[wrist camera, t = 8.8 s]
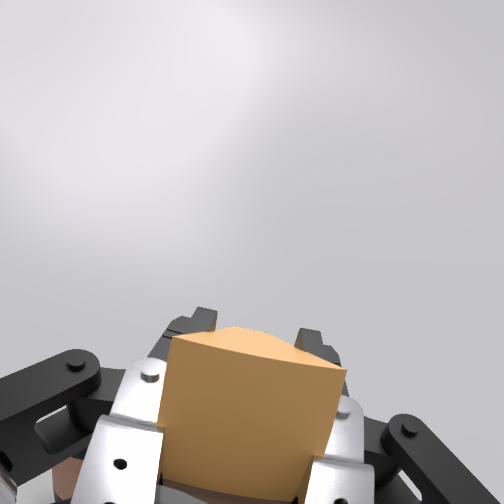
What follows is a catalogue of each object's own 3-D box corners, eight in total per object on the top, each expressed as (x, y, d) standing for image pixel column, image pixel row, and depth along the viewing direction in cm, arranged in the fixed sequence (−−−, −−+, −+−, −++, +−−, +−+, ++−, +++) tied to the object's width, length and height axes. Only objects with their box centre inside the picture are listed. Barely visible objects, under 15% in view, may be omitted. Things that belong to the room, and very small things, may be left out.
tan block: (307, 502, 4) (346, 369, 5) (149, 473, 4) (172, 336, 5) (260, 360, 29) (266, 332, 30) (229, 354, 30) (235, 326, 30)
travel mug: (110, 543, 22) (111, 448, 26) (61, 538, 18) (51, 439, 22) (98, 514, 28) (101, 422, 33) (55, 508, 24) (50, 412, 28)
